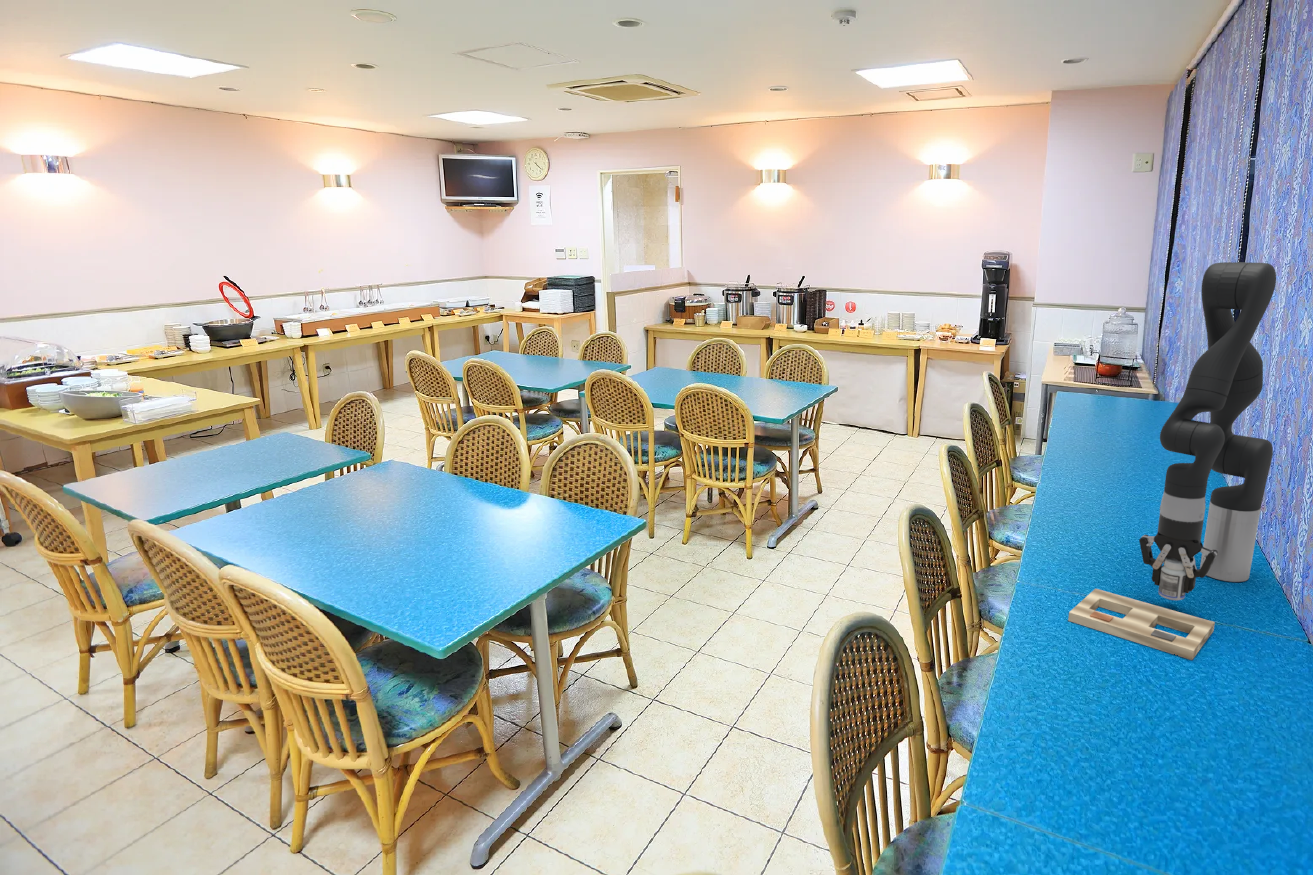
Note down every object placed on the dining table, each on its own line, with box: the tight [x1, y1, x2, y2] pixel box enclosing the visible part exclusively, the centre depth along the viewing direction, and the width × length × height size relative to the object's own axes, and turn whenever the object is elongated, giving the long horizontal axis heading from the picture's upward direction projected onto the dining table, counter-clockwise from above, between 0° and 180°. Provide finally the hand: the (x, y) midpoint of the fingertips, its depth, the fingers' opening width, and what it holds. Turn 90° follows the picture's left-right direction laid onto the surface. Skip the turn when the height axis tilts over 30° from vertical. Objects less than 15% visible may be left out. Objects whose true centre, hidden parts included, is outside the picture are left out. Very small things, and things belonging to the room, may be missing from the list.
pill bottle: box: [1157, 558, 1187, 601], centre depth 158 cm, size 5×5×8 cm
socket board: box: [1067, 588, 1216, 661], centre depth 153 cm, size 15×22×2 cm
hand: (1172, 587), depth 159 cm, fingers closed on pill bottle, 4 cm apart
